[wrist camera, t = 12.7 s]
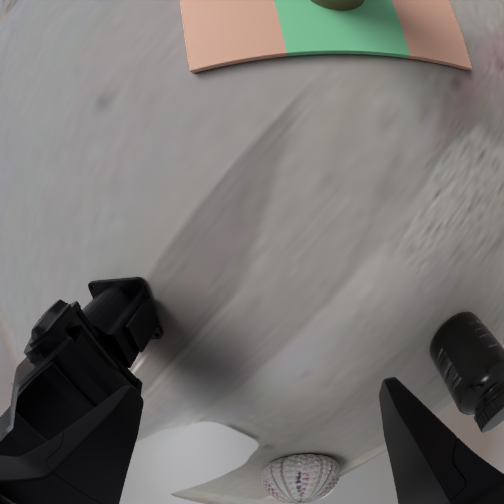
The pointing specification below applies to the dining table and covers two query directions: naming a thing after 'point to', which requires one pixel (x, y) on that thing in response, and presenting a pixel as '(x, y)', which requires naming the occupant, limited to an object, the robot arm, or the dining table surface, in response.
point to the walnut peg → (339, 4)
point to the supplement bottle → (471, 368)
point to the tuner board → (319, 31)
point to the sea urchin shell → (300, 477)
